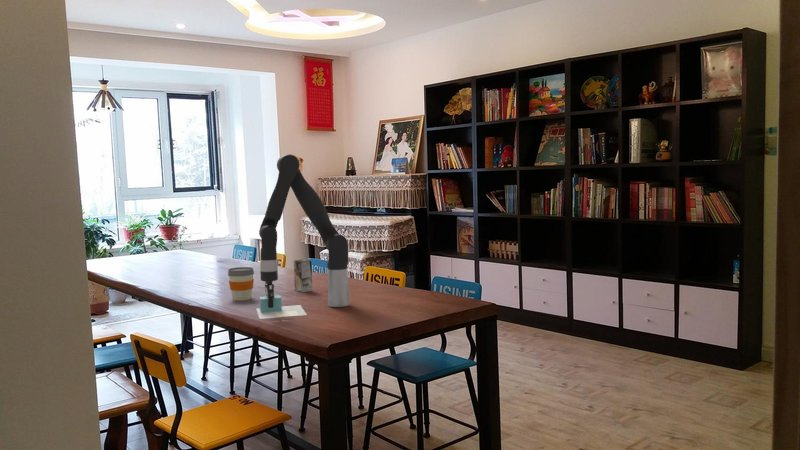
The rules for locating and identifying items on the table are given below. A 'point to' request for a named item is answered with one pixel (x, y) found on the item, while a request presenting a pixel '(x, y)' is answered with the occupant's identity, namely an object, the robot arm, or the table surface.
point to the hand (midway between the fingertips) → (269, 305)
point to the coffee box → (303, 275)
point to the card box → (276, 304)
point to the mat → (283, 312)
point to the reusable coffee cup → (241, 282)
